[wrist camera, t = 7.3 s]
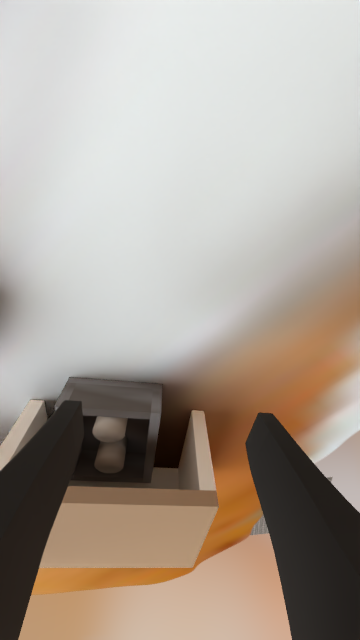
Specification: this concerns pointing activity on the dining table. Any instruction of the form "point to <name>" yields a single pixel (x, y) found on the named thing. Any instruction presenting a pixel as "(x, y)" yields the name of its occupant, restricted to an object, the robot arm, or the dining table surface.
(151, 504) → the shallow storage bin
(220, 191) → the dining table surface
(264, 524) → the architectural model
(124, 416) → the tray
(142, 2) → the dining table surface
